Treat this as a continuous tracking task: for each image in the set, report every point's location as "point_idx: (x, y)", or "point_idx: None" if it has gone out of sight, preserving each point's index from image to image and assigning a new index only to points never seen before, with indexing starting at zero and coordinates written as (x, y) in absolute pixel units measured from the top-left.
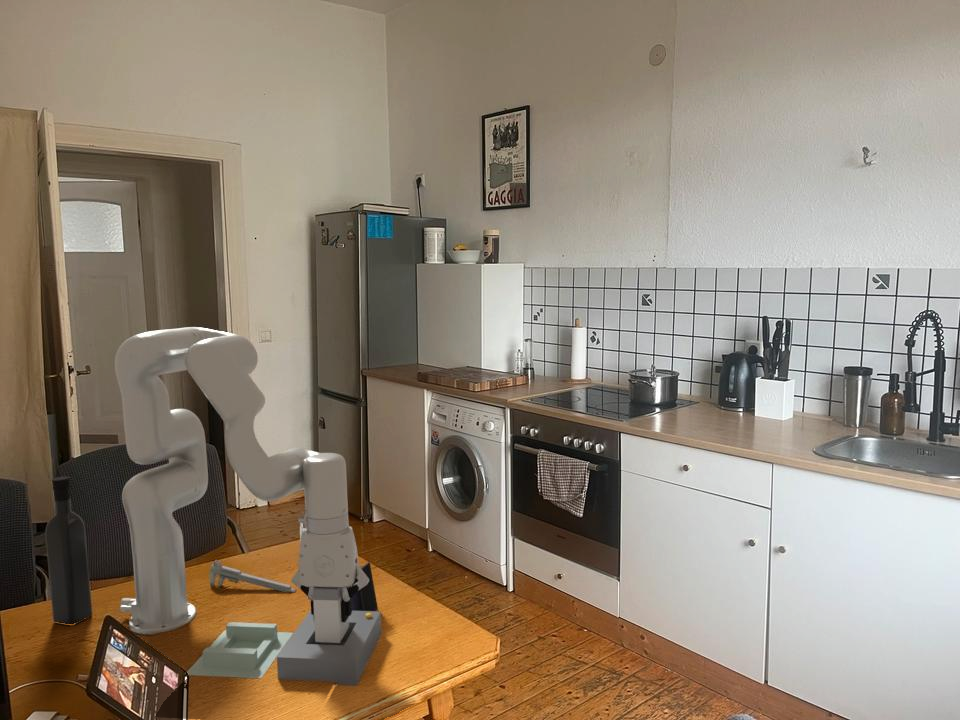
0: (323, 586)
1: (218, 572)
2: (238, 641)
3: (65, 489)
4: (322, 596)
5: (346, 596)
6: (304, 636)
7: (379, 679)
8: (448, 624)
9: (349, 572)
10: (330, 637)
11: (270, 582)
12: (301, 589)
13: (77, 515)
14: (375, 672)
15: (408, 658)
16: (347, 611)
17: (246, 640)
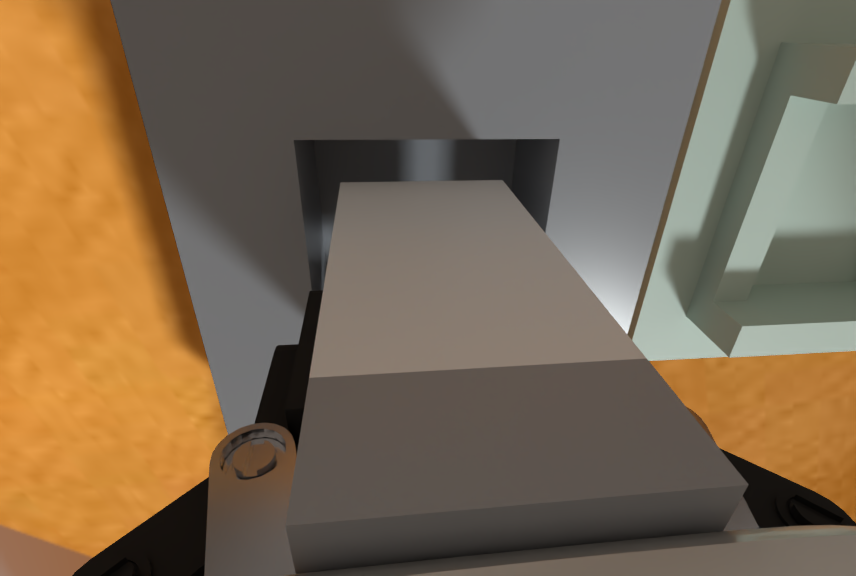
0: (577, 561)
1: None
2: (845, 279)
3: None
4: (540, 401)
5: (250, 476)
6: (582, 227)
7: (68, 20)
8: (21, 492)
9: None
10: (404, 191)
11: None
12: (822, 499)
13: None
14: (133, 97)
15: (32, 244)
16: (288, 363)
17: (815, 285)
